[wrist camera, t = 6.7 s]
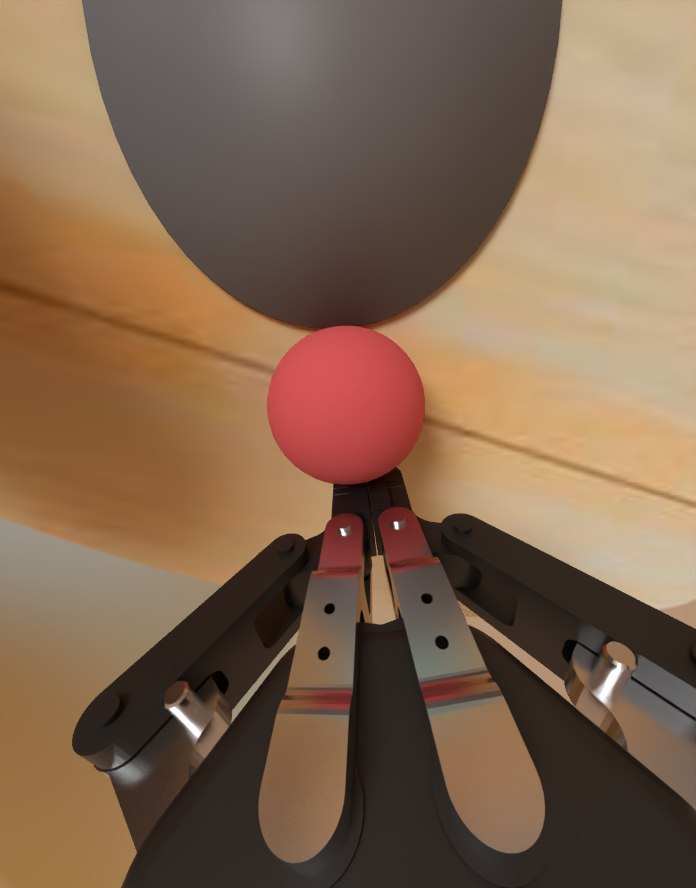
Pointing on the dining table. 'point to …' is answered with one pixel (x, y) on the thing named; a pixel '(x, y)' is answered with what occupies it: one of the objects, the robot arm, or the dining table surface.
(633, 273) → the dining table surface
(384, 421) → the ball
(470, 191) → the disc
